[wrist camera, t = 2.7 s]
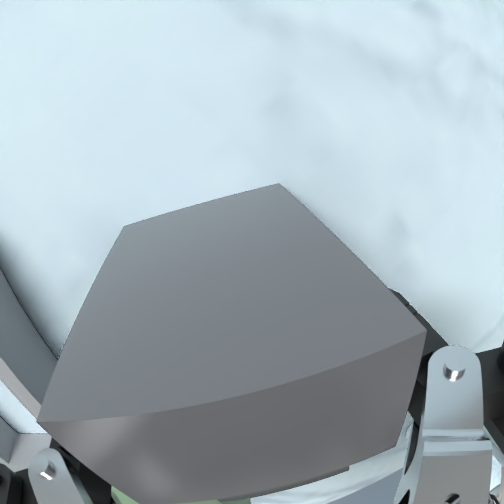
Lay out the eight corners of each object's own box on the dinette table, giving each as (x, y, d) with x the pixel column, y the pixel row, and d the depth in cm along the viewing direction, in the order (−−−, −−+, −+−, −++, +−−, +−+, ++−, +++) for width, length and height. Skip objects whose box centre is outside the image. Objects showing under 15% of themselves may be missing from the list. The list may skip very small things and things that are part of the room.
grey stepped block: (124, 224, 9) (35, 421, 3) (278, 182, 9) (427, 330, 3) (208, 405, 13) (227, 547, 7) (310, 378, 13) (366, 513, 7)
